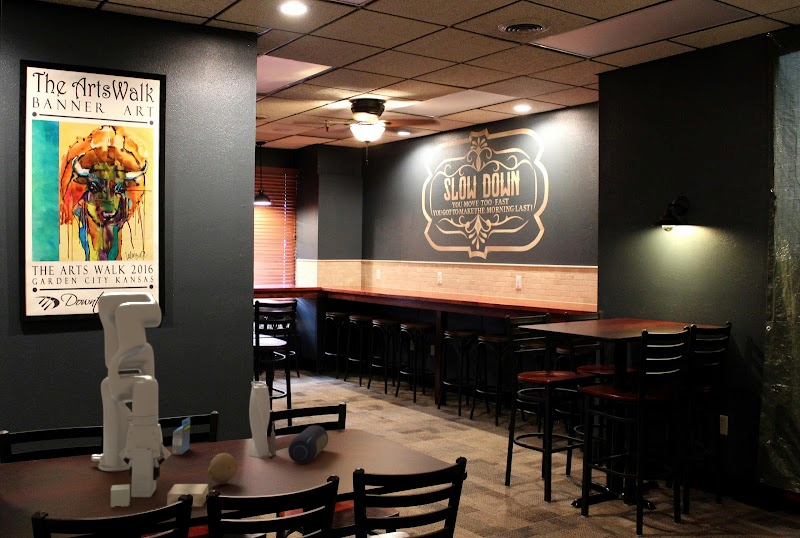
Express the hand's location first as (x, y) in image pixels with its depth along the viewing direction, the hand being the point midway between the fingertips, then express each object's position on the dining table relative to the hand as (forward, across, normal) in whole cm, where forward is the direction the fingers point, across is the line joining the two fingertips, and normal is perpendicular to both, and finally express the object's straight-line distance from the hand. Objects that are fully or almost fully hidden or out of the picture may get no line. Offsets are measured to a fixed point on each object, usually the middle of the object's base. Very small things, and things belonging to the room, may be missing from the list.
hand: (144, 478), depth 240 cm
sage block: (+5, -4, -10) cm, 12 cm away
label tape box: (+5, -2, +52) cm, 52 cm away
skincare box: (+5, 0, 0) cm, 5 cm away
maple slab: (+5, +15, -7) cm, 17 cm away
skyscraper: (+5, +28, +47) cm, 55 cm away
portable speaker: (+5, +46, +45) cm, 65 cm away
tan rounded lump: (+5, +22, +10) cm, 25 cm away
